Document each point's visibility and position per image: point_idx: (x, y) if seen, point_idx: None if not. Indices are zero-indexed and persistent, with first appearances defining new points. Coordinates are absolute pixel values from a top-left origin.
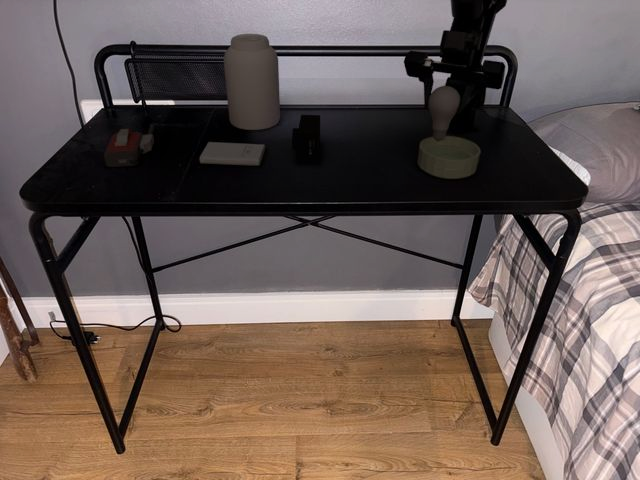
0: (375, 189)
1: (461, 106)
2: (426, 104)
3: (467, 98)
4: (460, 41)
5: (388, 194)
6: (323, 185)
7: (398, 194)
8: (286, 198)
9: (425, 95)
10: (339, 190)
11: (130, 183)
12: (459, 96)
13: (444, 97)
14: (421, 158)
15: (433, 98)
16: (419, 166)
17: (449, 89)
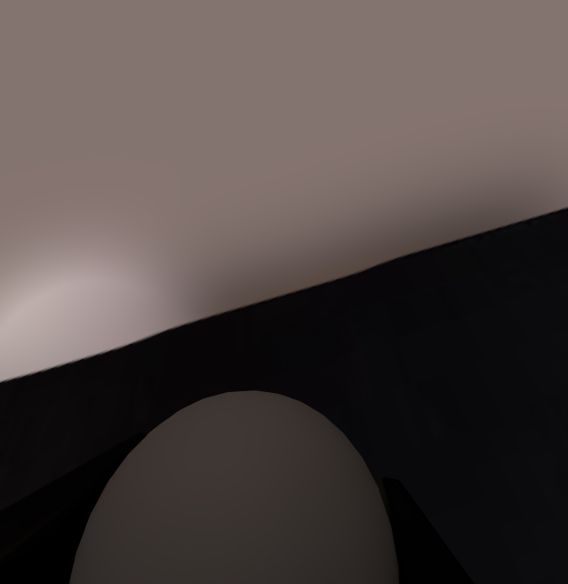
0: (406, 307)
1: (110, 450)
2: (387, 486)
3: (10, 513)
4: None
5: (370, 295)
6: (527, 289)
7: (349, 302)
8: (557, 223)
9: (444, 562)
10: (479, 280)
11: None
12: (77, 552)
13: (238, 406)
14: None
15: (340, 439)
16: None
17: (169, 517)
